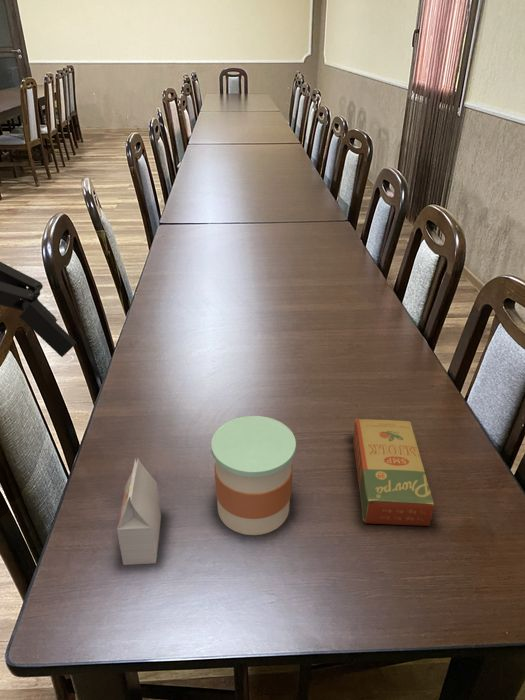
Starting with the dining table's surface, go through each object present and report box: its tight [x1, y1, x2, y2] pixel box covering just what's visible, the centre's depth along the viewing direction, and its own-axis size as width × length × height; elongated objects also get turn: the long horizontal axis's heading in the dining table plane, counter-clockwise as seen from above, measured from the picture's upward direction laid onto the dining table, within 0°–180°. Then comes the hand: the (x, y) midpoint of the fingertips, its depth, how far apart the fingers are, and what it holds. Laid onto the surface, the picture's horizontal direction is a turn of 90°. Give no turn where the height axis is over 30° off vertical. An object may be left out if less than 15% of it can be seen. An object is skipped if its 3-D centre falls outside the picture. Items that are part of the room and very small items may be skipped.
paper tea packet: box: [116, 457, 162, 566], centre depth 62 cm, size 4×7×10 cm, turn 4°
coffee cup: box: [210, 415, 297, 536], centre depth 66 cm, size 10×10×11 cm
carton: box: [352, 418, 435, 527], centre depth 72 cm, size 8×16×4 cm, turn 177°
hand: (31, 382), depth 56 cm, fingers open, 13 cm apart
